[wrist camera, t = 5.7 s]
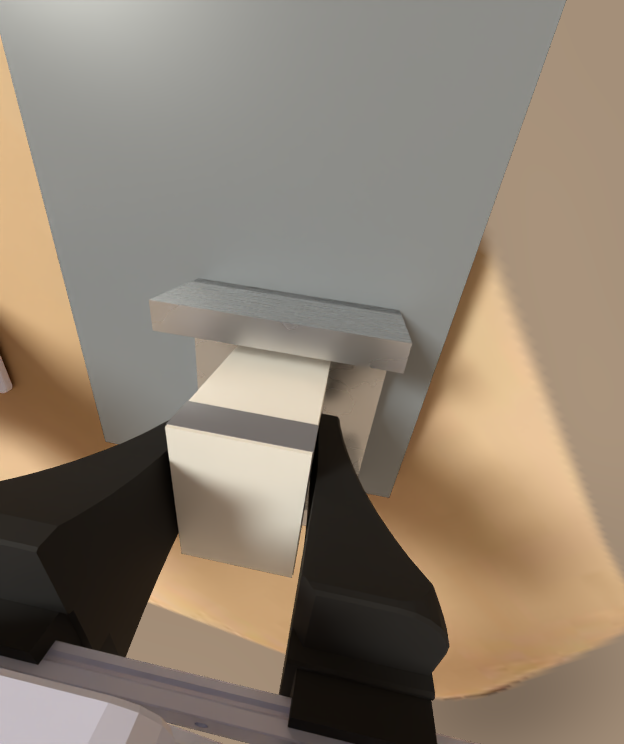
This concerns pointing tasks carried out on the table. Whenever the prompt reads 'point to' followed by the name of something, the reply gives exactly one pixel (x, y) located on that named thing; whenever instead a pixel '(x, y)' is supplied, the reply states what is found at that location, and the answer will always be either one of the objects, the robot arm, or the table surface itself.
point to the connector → (247, 458)
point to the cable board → (269, 168)
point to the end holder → (294, 342)
